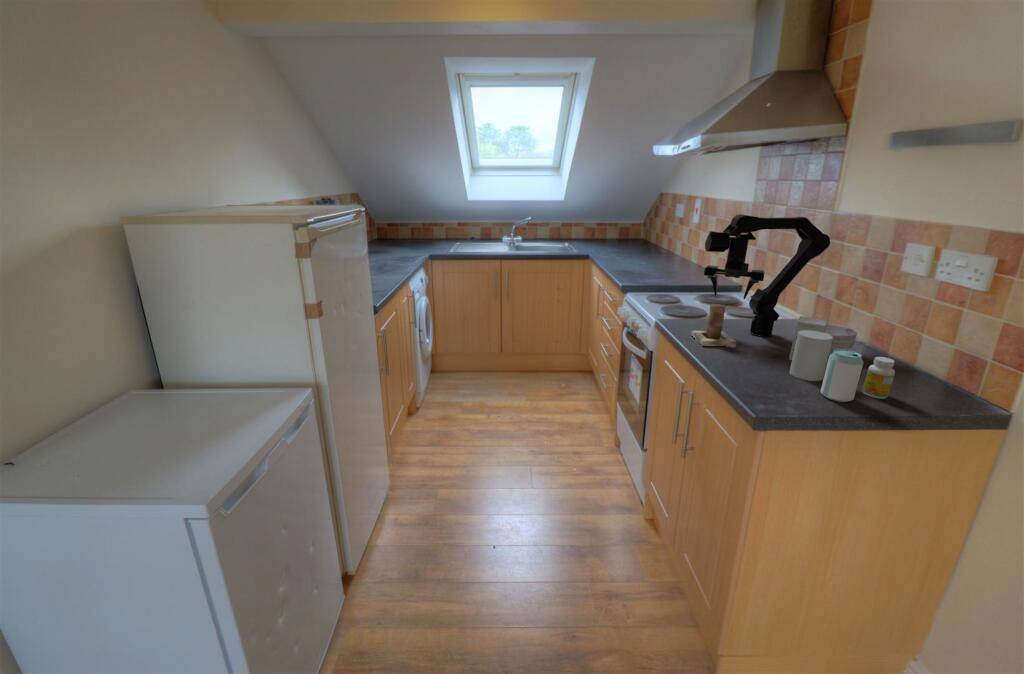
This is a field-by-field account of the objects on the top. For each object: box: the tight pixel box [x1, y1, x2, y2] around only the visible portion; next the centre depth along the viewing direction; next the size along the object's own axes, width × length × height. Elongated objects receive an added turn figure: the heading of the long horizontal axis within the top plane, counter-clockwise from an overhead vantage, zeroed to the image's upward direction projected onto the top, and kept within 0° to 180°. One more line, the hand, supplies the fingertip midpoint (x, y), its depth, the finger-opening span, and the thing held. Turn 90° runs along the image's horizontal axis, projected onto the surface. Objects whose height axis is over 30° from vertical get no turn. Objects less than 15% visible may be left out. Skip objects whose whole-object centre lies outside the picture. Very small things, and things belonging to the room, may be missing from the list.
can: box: [820, 349, 864, 403], centre depth 118 cm, size 7×7×12 cm
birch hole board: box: [690, 330, 737, 348], centre depth 159 cm, size 11×11×2 cm
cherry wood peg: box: [706, 303, 726, 339], centre depth 158 cm, size 5×5×12 cm
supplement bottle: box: [862, 356, 896, 400], centre depth 120 cm, size 5×5×10 cm
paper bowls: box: [825, 322, 858, 357], centre depth 151 cm, size 15×15×8 cm
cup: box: [789, 330, 833, 382], centre depth 131 cm, size 8×8×12 cm
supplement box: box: [788, 316, 828, 361], centre depth 143 cm, size 7×7×13 cm
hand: (729, 297), depth 166 cm, fingers open, 9 cm apart
